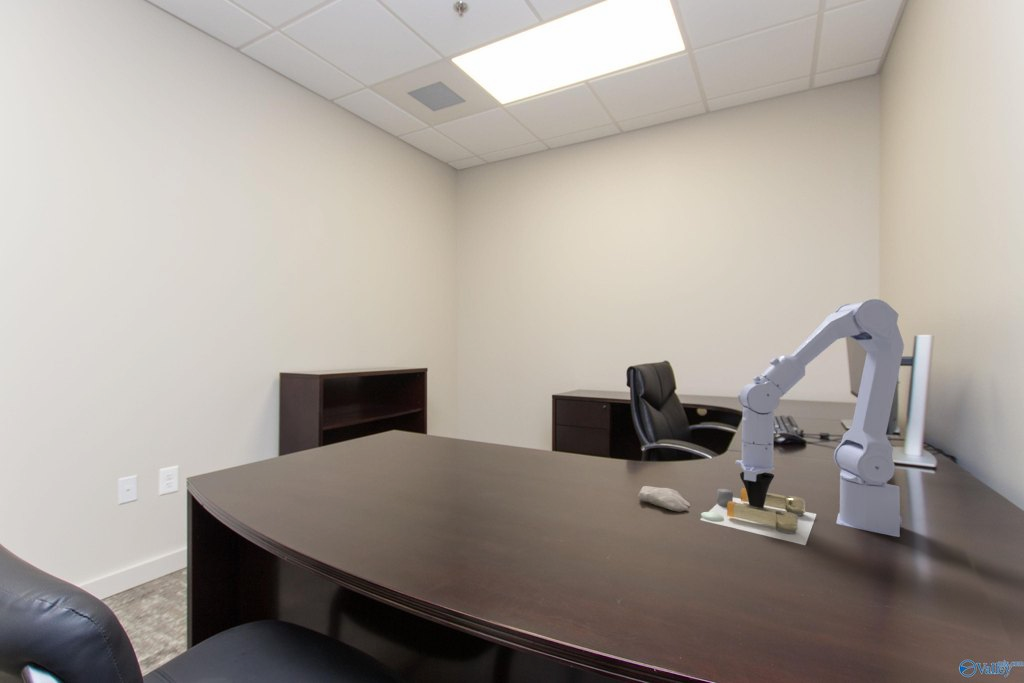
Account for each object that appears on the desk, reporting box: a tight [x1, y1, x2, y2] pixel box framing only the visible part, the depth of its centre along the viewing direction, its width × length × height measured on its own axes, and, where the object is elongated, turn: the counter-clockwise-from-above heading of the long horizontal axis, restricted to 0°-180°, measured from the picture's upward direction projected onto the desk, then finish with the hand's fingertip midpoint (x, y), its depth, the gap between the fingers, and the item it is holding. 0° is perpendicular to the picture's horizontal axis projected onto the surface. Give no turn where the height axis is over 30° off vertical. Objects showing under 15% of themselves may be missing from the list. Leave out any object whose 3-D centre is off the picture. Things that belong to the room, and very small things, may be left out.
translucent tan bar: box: [727, 501, 798, 531], centre depth 87 cm, size 12×4×2 cm, turn 52°
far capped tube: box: [740, 487, 806, 514], centre depth 97 cm, size 12×4×2 cm, turn 52°
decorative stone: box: [637, 485, 691, 512], centre depth 101 cm, size 11×4×15 cm
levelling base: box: [699, 488, 817, 546], centre depth 92 cm, size 18×20×4 cm
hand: (756, 509), depth 93 cm, fingers closed
